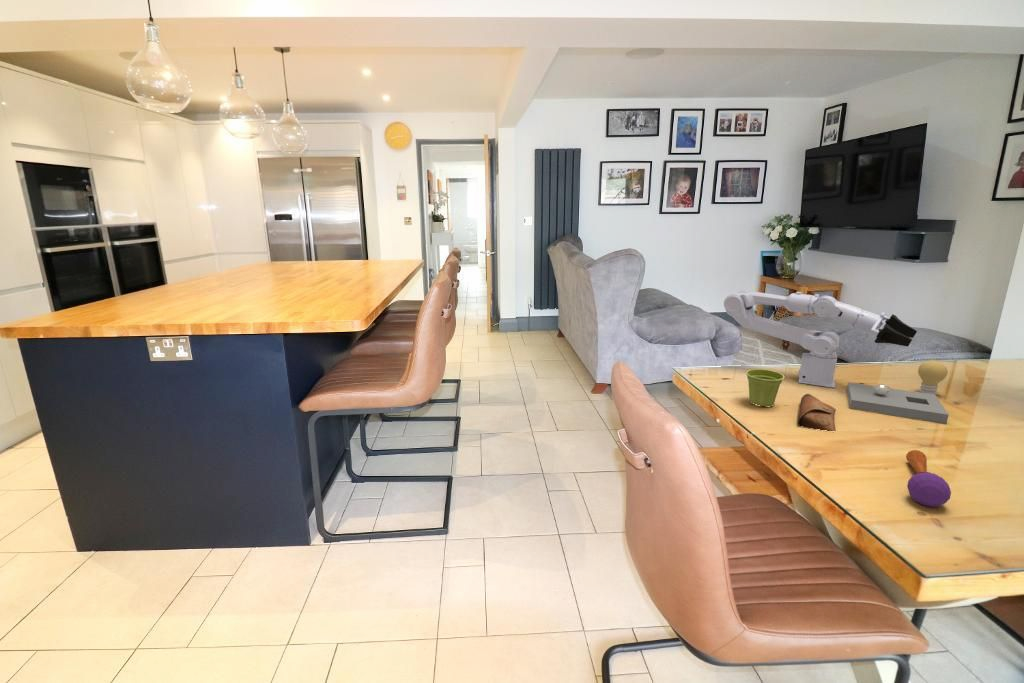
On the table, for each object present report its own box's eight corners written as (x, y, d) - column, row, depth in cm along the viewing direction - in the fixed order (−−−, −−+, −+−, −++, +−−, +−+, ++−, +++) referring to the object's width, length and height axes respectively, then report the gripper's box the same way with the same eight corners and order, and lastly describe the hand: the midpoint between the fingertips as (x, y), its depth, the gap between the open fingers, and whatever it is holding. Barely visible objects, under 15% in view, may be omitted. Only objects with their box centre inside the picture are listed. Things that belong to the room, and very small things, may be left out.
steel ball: (873, 395, 133) (875, 384, 132) (872, 392, 135) (874, 381, 134) (888, 398, 131) (890, 387, 130) (886, 394, 134) (888, 383, 133)
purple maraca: (940, 451, 99) (960, 489, 83) (927, 476, 101) (944, 518, 85) (905, 439, 102) (917, 473, 86) (893, 463, 104) (903, 501, 88)
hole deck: (850, 408, 131) (851, 399, 130) (846, 390, 144) (848, 382, 143) (946, 423, 121) (948, 414, 120) (933, 402, 134) (935, 394, 133)
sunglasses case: (838, 433, 116) (825, 408, 116) (807, 441, 120) (794, 417, 120) (836, 408, 131) (824, 386, 131) (808, 416, 135) (797, 394, 135)
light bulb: (931, 390, 143) (938, 358, 141) (947, 398, 137) (955, 364, 135) (908, 389, 144) (915, 357, 141) (923, 397, 138) (931, 364, 135)
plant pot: (765, 412, 128) (769, 382, 126) (735, 401, 137) (738, 372, 134) (787, 406, 133) (792, 376, 130) (757, 395, 141) (760, 367, 139)
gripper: (858, 313, 134) (915, 334, 126) (870, 300, 143) (925, 318, 135) (846, 335, 138) (901, 356, 130) (859, 320, 147) (911, 340, 139)
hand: (912, 338), depth 133 cm, fingers open, 7 cm apart
